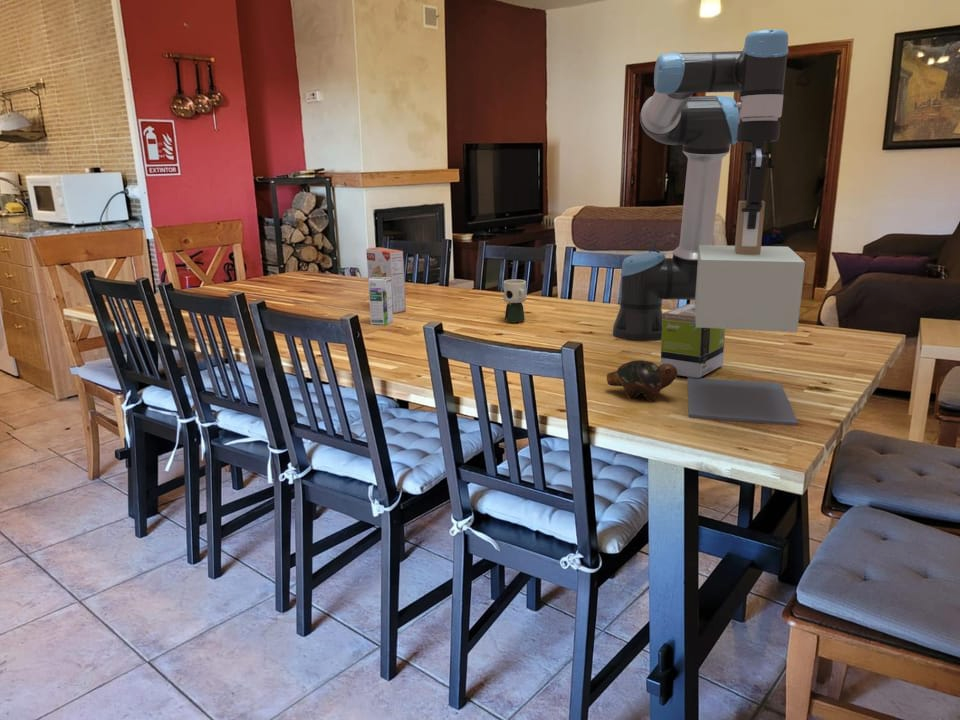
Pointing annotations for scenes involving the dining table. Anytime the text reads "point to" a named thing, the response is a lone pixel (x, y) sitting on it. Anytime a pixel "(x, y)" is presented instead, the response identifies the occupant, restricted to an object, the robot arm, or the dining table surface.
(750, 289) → the cover
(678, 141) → the robot arm
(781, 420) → the mat
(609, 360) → the dining table surface
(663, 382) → the decorative turtle
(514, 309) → the character mug
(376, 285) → the syrup box
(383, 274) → the cracker box
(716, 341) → the tea box
